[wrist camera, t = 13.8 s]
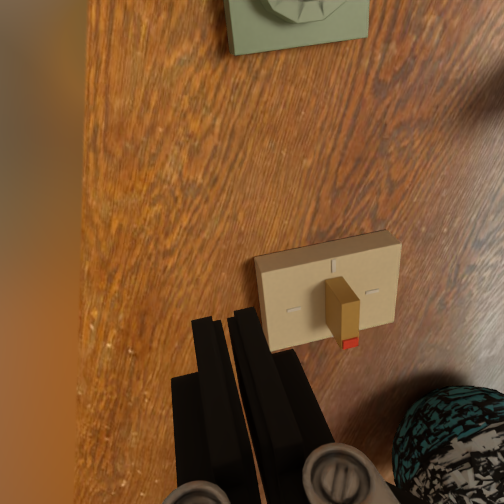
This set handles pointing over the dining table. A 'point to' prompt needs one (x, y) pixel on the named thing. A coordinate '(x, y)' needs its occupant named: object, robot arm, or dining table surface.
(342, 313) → the lock knob
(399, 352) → the dining table surface
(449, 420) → the decorative sphere
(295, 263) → the lock plate
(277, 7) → the button block
